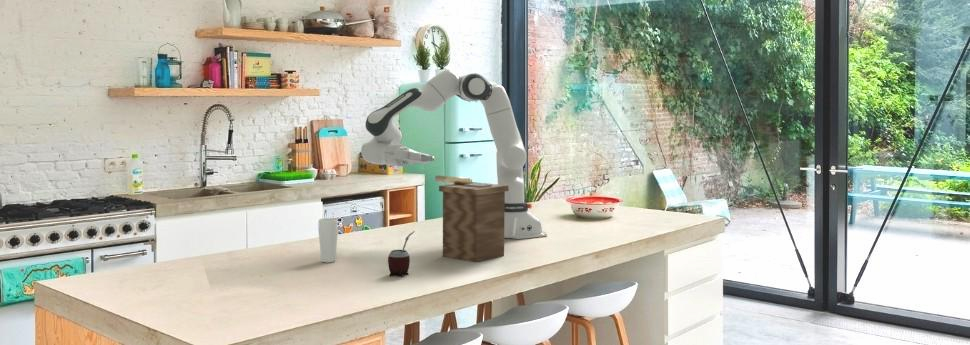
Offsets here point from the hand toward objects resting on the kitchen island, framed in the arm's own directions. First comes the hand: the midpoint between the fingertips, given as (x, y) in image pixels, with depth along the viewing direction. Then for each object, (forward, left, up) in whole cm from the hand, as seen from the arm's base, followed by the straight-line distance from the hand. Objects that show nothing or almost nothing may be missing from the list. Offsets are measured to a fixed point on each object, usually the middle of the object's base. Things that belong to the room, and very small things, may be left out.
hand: (427, 157), depth 337 cm
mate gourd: (+24, +48, -35) cm, 64 cm away
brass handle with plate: (-7, +20, -8) cm, 23 cm away
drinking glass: (+42, +18, -35) cm, 57 cm away
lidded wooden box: (-10, +25, -34) cm, 44 cm away
